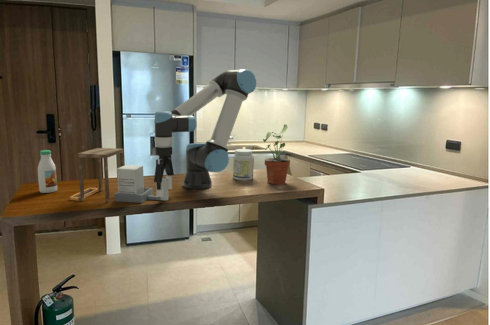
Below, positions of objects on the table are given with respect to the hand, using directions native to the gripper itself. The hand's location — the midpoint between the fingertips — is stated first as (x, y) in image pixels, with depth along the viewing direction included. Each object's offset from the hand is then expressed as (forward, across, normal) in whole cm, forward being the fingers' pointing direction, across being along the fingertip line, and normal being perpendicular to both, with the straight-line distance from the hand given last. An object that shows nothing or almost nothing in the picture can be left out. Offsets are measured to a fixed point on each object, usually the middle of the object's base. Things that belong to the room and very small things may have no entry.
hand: (164, 192), depth 163 cm
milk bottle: (+4, -3, -60) cm, 60 cm away
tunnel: (+3, 0, -30) cm, 30 cm away
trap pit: (+3, 0, -39) cm, 39 cm away
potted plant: (+4, -44, +50) cm, 66 cm away
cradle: (+3, 0, -10) cm, 10 cm away
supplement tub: (+4, -50, +30) cm, 59 cm away
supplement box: (+4, +1, -16) cm, 16 cm away
